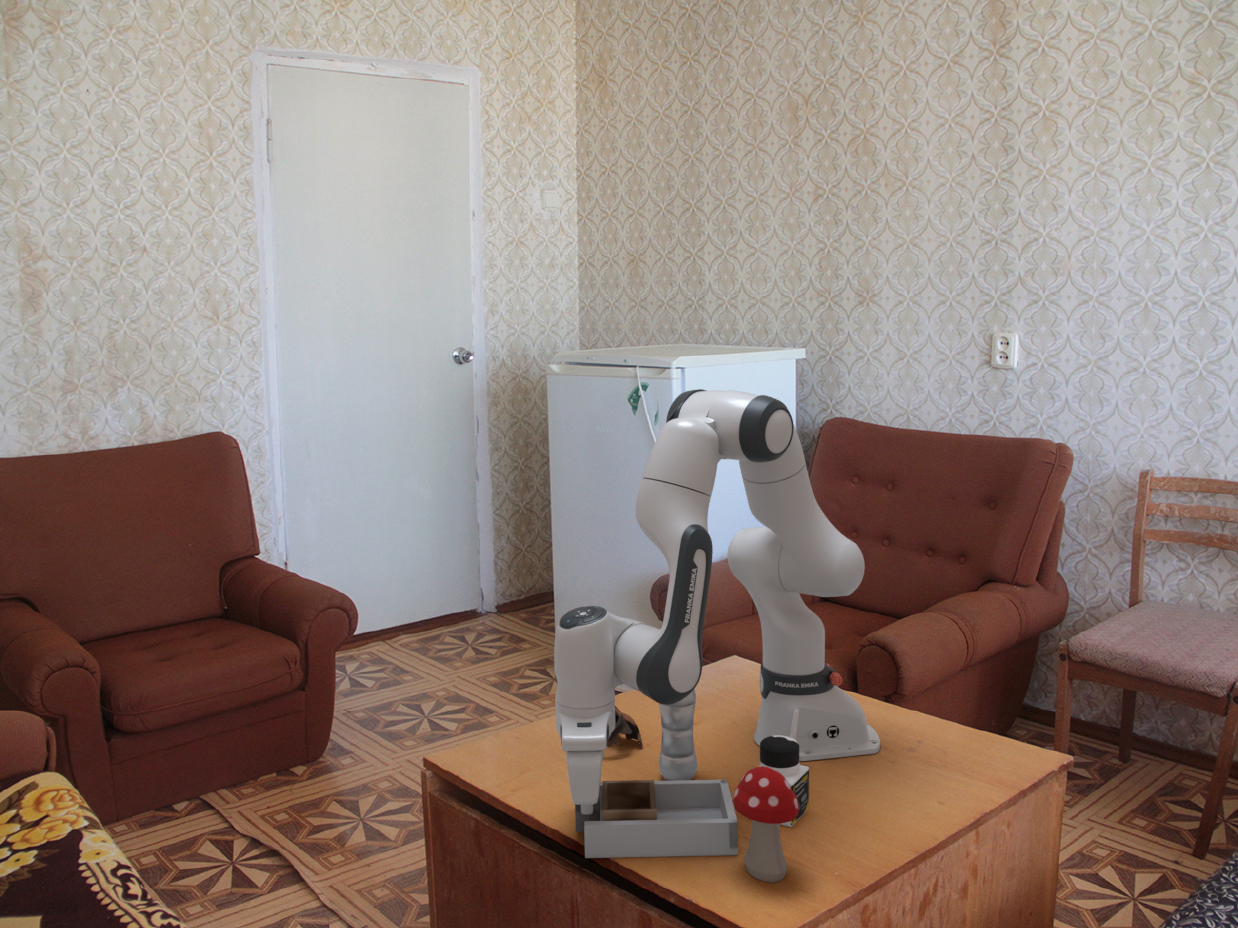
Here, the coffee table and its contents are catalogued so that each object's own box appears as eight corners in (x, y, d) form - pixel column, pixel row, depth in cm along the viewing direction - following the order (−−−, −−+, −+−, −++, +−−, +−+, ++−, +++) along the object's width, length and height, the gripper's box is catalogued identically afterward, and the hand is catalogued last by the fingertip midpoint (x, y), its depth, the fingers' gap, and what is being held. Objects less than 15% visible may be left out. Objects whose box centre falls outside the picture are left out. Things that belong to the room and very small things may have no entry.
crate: (654, 809, 161) (653, 766, 160) (657, 842, 151) (656, 796, 150) (577, 810, 161) (576, 767, 160) (574, 843, 151) (573, 798, 150)
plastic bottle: (671, 790, 170) (670, 673, 167) (651, 774, 176) (649, 661, 173) (705, 781, 173) (704, 666, 170) (684, 766, 179) (683, 655, 176)
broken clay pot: (650, 757, 184) (631, 725, 181) (603, 780, 185) (583, 748, 182) (639, 716, 195) (620, 685, 192) (595, 738, 196) (575, 707, 192)
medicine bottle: (791, 828, 157) (792, 752, 155) (748, 817, 161) (748, 743, 159) (809, 809, 163) (810, 736, 161) (767, 798, 167) (767, 727, 165)
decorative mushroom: (812, 878, 143) (813, 775, 141) (763, 896, 138) (763, 790, 136) (767, 847, 151) (767, 749, 149) (719, 863, 147) (719, 763, 145)
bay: (727, 809, 163) (726, 779, 162) (737, 854, 149) (737, 822, 149) (587, 812, 163) (586, 782, 162) (585, 857, 149) (584, 825, 148)
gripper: (567, 692, 164) (569, 775, 166) (560, 744, 144) (563, 838, 145) (607, 691, 164) (608, 774, 166) (606, 743, 144) (608, 837, 146)
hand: (587, 805), depth 155 cm, fingers closed on crate, 3 cm apart
